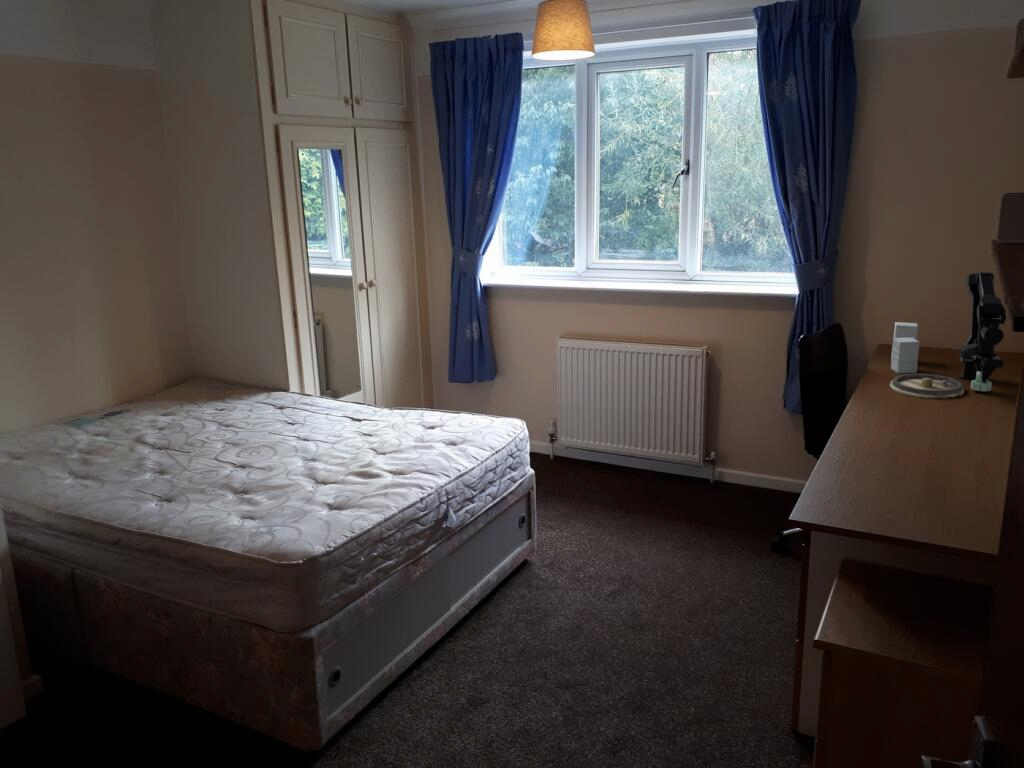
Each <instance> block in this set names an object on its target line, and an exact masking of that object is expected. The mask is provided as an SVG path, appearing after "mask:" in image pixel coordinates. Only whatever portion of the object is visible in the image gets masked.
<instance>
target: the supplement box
mask: <svg viewBox="0 0 1024 768" xmlns="http://www.w3.org/2000/svg"><path fill="white" fill-rule="evenodd" d="M892 347H893V349H892V348H891V355H892V360H891V362H890V363H891V364H890V369H891V370H892V371H894V372H895V373H896V372H897V373H896V374H918V373H917V372H918V359H919V354H920V353H919V352H920V341H919V340H917V338H916V339H914V338H912V337H910V338H894V337H893V339H892Z"/></svg>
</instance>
